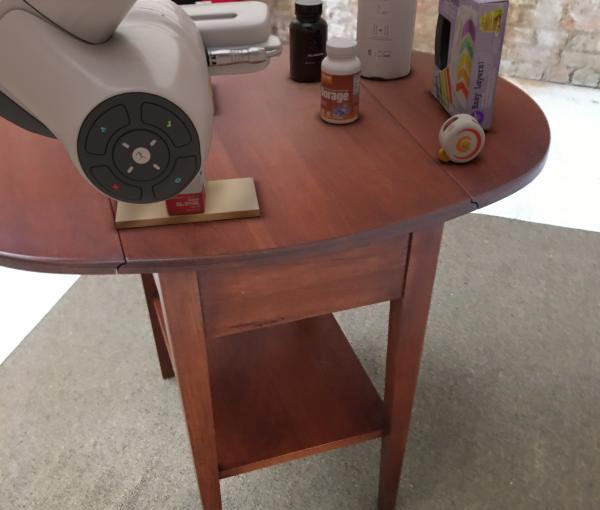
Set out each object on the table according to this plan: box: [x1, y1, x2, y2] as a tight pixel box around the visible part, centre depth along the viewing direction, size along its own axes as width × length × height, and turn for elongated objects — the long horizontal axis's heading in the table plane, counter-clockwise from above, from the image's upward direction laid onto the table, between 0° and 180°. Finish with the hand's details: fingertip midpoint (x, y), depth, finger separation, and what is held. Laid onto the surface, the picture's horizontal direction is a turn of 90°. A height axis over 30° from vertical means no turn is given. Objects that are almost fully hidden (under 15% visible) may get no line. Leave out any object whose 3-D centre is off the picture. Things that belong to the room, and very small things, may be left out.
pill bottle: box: [320, 37, 362, 125], centre depth 99 cm, size 6×6×11 cm
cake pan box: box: [430, 0, 510, 132], centre depth 98 cm, size 19×5×18 cm, turn 7°
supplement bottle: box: [288, 0, 329, 83], centre depth 112 cm, size 7×7×12 cm
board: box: [114, 176, 261, 230], centre depth 83 cm, size 18×9×1 cm, turn 98°
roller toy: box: [438, 114, 486, 164], centre depth 89 cm, size 4×6×6 cm
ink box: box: [165, 165, 207, 215], centre depth 78 cm, size 9×5×12 cm, turn 4°
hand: (151, 14), depth 57 cm, fingers open, 8 cm apart
